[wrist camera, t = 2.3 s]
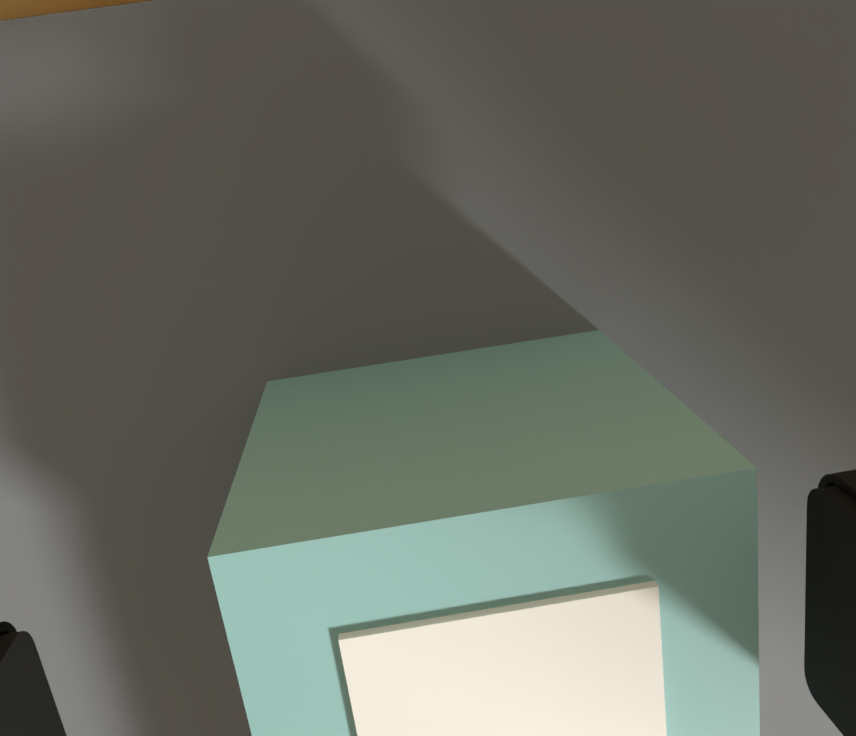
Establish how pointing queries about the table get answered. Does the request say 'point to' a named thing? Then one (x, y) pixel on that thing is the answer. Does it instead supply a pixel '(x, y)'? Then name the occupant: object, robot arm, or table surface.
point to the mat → (393, 274)
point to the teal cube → (491, 552)
